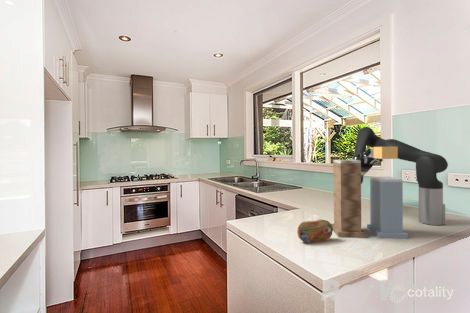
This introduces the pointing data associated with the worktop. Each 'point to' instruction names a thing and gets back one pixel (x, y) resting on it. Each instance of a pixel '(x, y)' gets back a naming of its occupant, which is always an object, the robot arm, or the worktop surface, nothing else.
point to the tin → (314, 231)
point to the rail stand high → (347, 199)
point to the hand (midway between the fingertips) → (374, 150)
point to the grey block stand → (386, 208)
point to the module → (384, 153)
